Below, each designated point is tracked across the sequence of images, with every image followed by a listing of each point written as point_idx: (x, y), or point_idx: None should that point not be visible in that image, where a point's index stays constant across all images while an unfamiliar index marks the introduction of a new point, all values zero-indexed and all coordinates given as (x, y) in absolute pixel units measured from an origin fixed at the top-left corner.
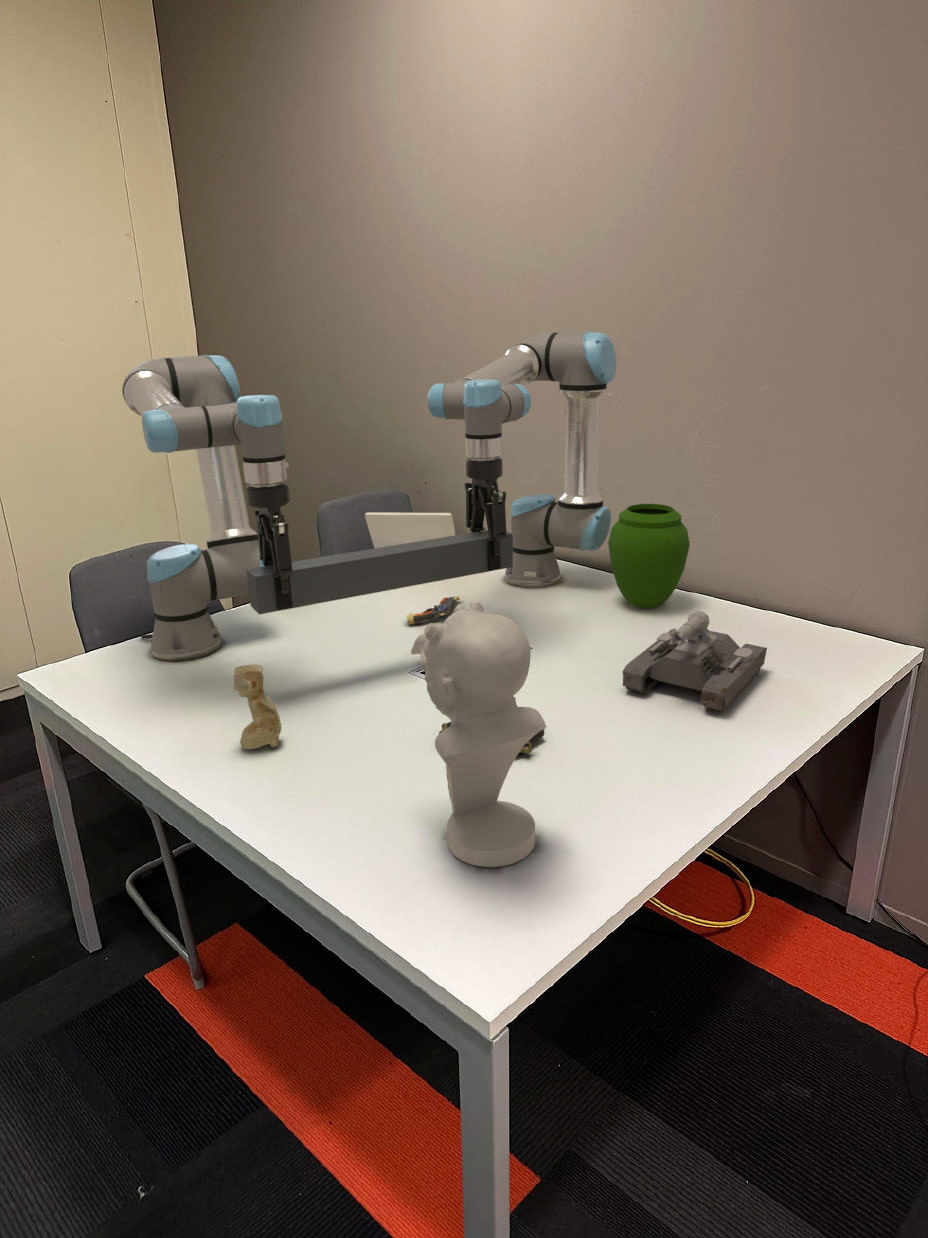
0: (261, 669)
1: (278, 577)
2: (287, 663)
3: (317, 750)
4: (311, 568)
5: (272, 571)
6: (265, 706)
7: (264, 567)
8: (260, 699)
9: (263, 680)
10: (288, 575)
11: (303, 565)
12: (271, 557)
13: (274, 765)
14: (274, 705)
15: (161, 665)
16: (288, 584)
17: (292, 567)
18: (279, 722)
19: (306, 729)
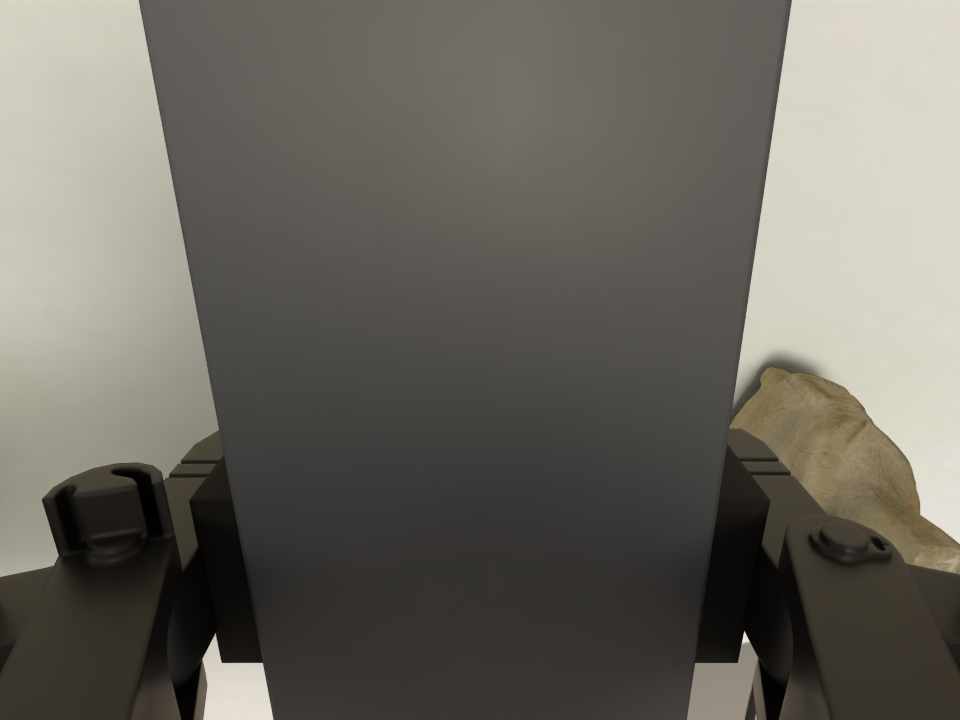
0: (953, 555)
1: (736, 617)
2: (148, 145)
3: (912, 280)
4: (775, 103)
5: (586, 679)
6: (914, 482)
7: (333, 710)
8: (911, 507)
9: (930, 522)
10: (760, 504)
11: (553, 199)
12: (176, 701)
13: (897, 412)
14: (857, 427)
15: (9, 543)
16: (793, 480)
17: (559, 406)
18: (843, 394)
19: (758, 265)
